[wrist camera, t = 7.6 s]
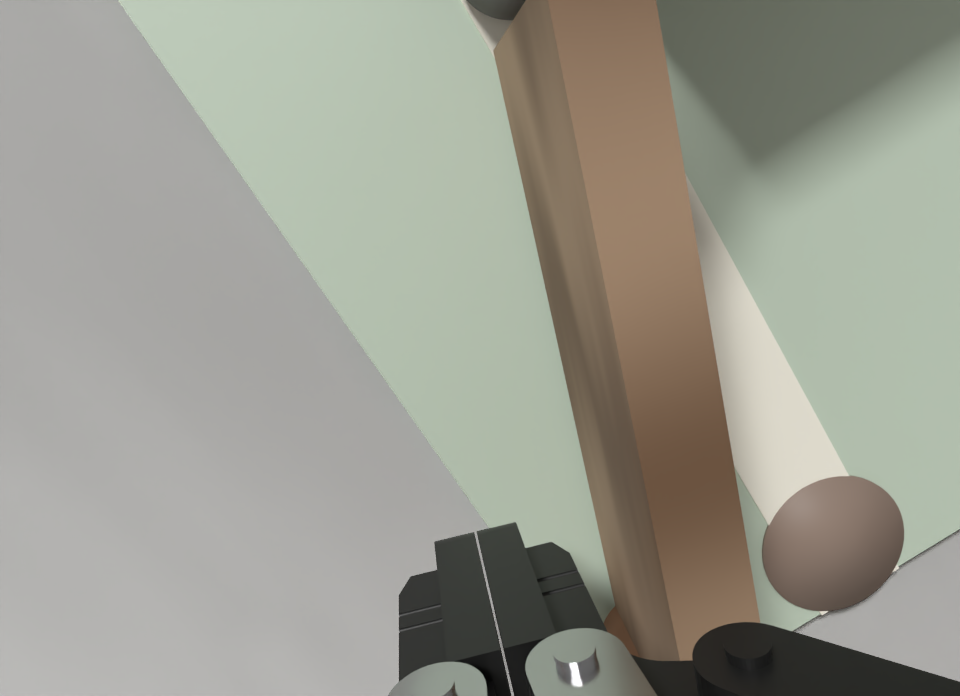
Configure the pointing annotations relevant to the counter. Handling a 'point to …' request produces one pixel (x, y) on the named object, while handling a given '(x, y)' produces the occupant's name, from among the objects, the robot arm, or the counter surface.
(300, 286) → the counter surface
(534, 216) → the hinged fence panel
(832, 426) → the card
